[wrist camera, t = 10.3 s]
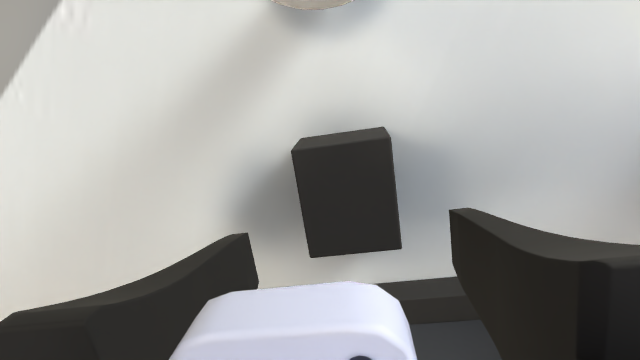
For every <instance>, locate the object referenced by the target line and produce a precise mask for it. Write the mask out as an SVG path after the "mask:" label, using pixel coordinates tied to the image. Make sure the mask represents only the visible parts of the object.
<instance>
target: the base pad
mask: <svg viewBox="0 0 640 360" xmlns="http://www.w3.org/2000/svg"><path fill="white" fill-rule="evenodd" d="M373 285H377V286H378V287H380V288H381V289H383V290H384V291H386V292H387V293H388V294H390V295H391V296H393V297H394V298H396V299H397V300H398V301H399V302H400V305H401V307H402V309H403V312H404V314H405V316H406V318H407V321H408V323H409V325H412V324H426V323H440V322H455V321H469V320H481V319H480V318H479V316H478V314H477V313H476V311H475V309H474V307H473V306H472V304H471V302H470V300H469V299H468V297H467V295H466V293H465V292H464V290H463V288H462V286H461V284H460V281H459V279H458V277H451V278H440V279H428V280H416V281H405V282H393V283H382V284H373Z"/></svg>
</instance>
